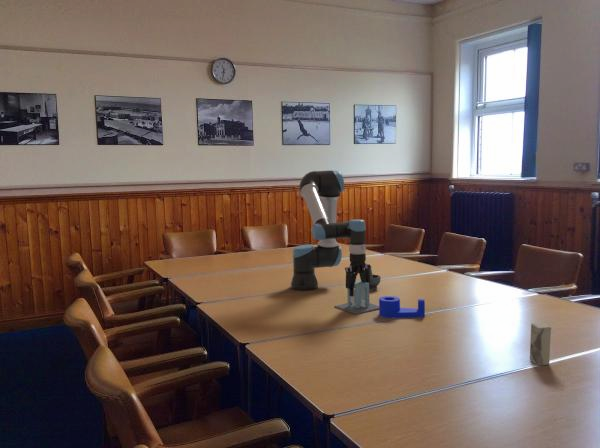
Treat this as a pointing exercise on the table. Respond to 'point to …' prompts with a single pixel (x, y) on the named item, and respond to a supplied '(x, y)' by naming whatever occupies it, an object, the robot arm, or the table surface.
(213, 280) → the table surface
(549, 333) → the grey stone block
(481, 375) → the table surface
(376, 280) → the mortar and pestle
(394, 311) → the bracket
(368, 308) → the mat
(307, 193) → the robot arm
